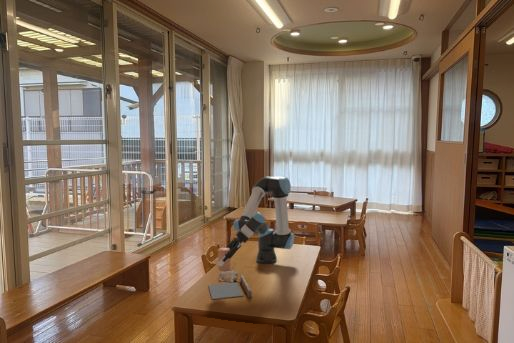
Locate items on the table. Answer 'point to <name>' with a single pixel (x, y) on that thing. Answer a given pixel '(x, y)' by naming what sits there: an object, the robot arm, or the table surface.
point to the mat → (225, 291)
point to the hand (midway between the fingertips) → (218, 263)
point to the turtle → (229, 275)
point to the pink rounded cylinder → (220, 255)
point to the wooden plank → (246, 286)
